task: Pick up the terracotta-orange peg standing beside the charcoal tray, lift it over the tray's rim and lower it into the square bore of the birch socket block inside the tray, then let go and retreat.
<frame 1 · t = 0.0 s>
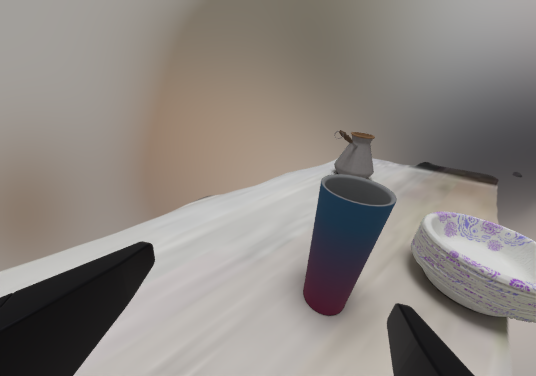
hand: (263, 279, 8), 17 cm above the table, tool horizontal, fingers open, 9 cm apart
coffee pot: (343, 179, 65), on the table
cup: (323, 297, 27), on the table
paper bowls: (461, 286, 32), on the table
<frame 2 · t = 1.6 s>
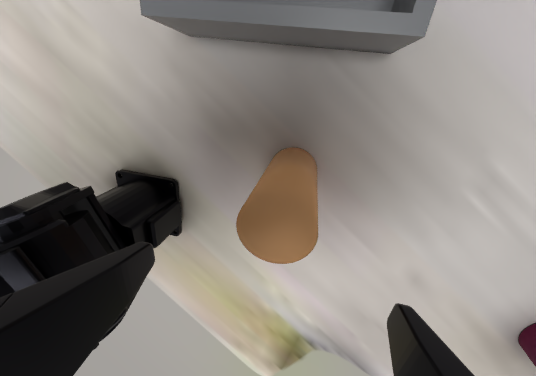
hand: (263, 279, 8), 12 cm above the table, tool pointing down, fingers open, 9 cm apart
peg: (292, 170, 19), on the table
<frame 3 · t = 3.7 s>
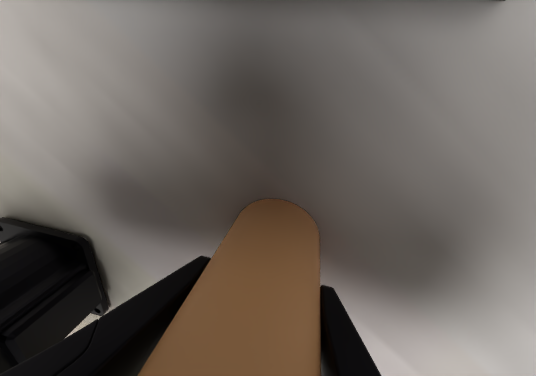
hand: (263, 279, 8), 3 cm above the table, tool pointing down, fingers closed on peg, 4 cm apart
peg: (275, 237, 10), on the table, touching gripper
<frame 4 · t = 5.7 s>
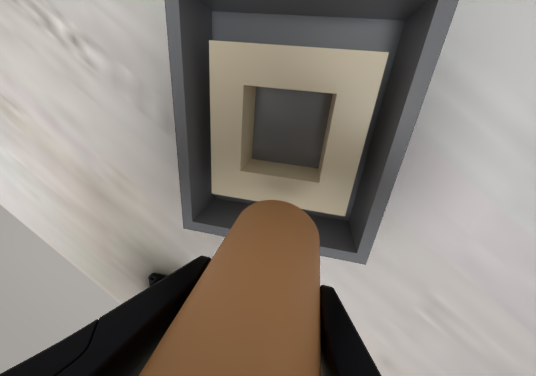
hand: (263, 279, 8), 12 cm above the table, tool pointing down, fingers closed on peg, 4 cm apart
socket tray: (289, 127, 18), on the table
peg: (275, 238, 10), point 10 cm above the table, touching gripper
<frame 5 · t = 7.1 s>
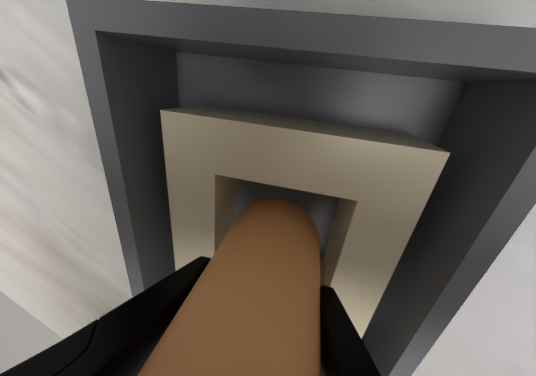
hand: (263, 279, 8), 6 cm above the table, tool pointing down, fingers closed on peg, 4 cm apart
socket tray: (286, 202, 13), on the table
peg: (275, 237, 10), point 3 cm above the table, touching gripper
when the fingers open (5 cm above the table, at t = 8.0 s): peg drops 2 cm, resting on socket tray.
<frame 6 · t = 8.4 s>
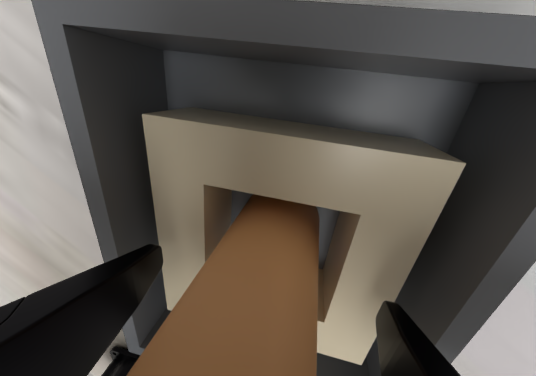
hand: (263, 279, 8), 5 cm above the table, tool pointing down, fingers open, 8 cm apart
socket tray: (283, 210, 12), on the table
peg: (280, 219, 12), point 1 cm above the table, touching socket tray
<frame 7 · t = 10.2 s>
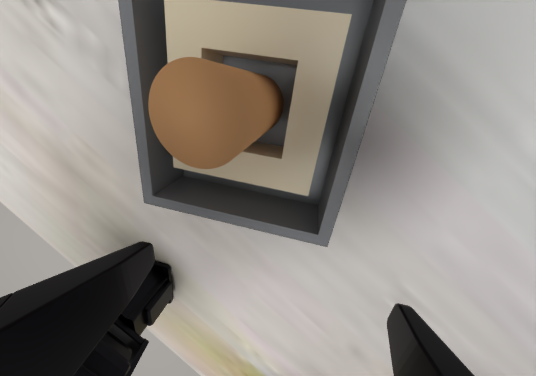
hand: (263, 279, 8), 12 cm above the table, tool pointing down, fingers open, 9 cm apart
socket tray: (259, 103, 17), on the table
peg: (257, 104, 16), point 1 cm above the table, touching socket tray
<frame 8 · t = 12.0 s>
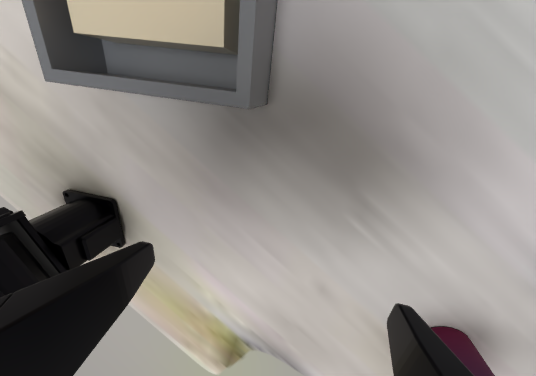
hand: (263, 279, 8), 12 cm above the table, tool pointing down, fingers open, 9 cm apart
cup: (440, 340, 23), on the table
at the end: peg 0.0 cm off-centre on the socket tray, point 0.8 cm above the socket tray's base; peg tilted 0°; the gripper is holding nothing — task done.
